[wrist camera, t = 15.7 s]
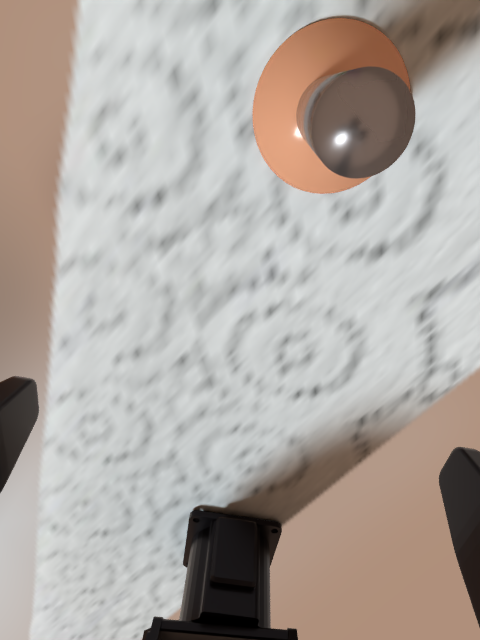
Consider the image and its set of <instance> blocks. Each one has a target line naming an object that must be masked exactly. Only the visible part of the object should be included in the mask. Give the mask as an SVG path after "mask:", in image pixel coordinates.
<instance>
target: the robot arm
mask: <svg viewBox="0 0 480 640" xmlns="http://www.w3.org/2000/svg"><path fill="white" fill-rule="evenodd" d="M38 413H39V405H38V395H37V385H36V382H35V380H33V379H30V378H25V377H19V376H14V377H11V378H8V379H6V380H4V381H2V382H0V493H1V491H2V489H3V488H4V486H5V484H6V482H7V480H8V478H9V476H10V474H11V472H12V470H13V468H14V466H15V464H16V462H17V459H18V457H19V455H20V453H21V451H22V449H23V447H24V445H25V443H26V441H27V439H28V437H29V435H30V433H31V431H32V429H33V427H34V425H35V422H36V420H37V417H38ZM439 485H440V489H441V494H442V498H443V502H444V507H445V511H446V515H447V520H448V524H449V529H450V533H451V538H452V542H453V546H454V550H455V553H456V557H457V560H458V563H459V567H460V570H461V573H462V576H463V579H464V582H465V585H466V588H467V591H468V594H469V597H470V600H471V603H472V606H473V609H474V612H475V615H476V618H477V620H478V624H479V627H480V452H479V451H477V450H475V449H469V448H463V447H457V448H455V449H454V450H453V451H452V453H451V454H450V456H449V458H448V460H447V461H446V463H445V465H444V466H443V468H442V470H441V472H440V475H439ZM281 532H282V529H281V524H280V523H279V522H276V521H269V520H262V519H255V518H247V517H240V516H233V515H226V514H219V513H211V512H204V511H192V512H191V513H190V517H189V524H188V531H187V539H186V546H185V553H184V560H183V565H184V566H185V567H188V568H187V574H186V581H185V587H184V593H183V600H182V606H181V612H180V619H179V620H167V619H163V617H154V618H153V622H152V626H151V628H149V629H147V630H145V631H144V634H143V639H142V640H298V637H297V630H296V629H291V628H288V629H287V630H282V629H271V628H270V565H271V562H272V559H273V556H274V553H275V550H276V547H277V544H278V541H279V538H280V535H281Z"/></svg>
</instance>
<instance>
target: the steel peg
mask: <svg viewBox="0 0 480 640" xmlns="http://www.w3.org/2000/svg"><path fill="white" fill-rule="evenodd" d="M296 121H297V126H298V130H299V132H300V134H301V136H302V137H303V139H304V140H305V141H306V142H307V144H308V145H309V146H310V147H311V149H312V150H313V151H314V153H315V154H316V155H317V156H318V158H319V159H320V160H321V161H322V163H323V164H324V165H325V166H326V167H327V168H328V169H329V170H331V171H332V172H334V173H336V174H338V175H340V176H343V177H346V178H356V179H358V178H366V177H370V176H373V175H376V174H378V173H380V172H382V171H384V170H385V169H387V168H388V167H389V166H391V165H392V164H393V163H394V162H395V161H396V160H397V159H398V158H399V157H400V155H401V154H402V153H403V152H404V150H405V148H406V147H407V145H408V143H409V141H410V138H411V136H412V133H413V129H414V124H415V105H414V100H413V97H412V94H411V92H410V90H409V88H408V86H407V85H406V83H405V82H404V81H403V80H402V79H401V78H400V77H399V76H398V75H396V74H395V73H393V72H392V71H390V70H387V69H384V68H381V67H373V66H368V67H361V68H356V69H352V70H348V71H343V72H339V73H335V74H331V75H327V76H323V77H321V78H318V79H317V80H315V81H314V82H313V83H311V84H310V85H309V86H308V87H307V88H306V90H305V91H304V92H303V94H302V96H301V98H300V100H299V103H298V106H297V112H296Z"/></svg>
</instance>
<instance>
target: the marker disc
mask: <svg viewBox="0 0 480 640" xmlns="http://www.w3.org/2000/svg"><path fill="white" fill-rule="evenodd" d="M368 66H373V67H381V68H384V69H387V70H390V71H392V72H393V73H395V74H396V75H398V76H399V77H400V78H401V79H402V80H403V81H404V82H405V83H406V85H407V86H408V88H409V90H410V83H409V78H408V73H407V69H406V67H405V64H404V61H403V59H402V57H401V55H400V54H399V52H398V50H397V48H396V47H395V46H394V45H393V43H392V42H391V41H390V40H389V39H388V38H387V37H386V36H385V35H384V34H383V33H382V32H380V31H379V30H377V29H376V28H374V27H373V26H371V25H368V24H366V23H364V22H361V21H357V20H354V19H346V18H335V19H327V20H322V21H318V22H316V23H313V24H310V25H308V26H306V27H304V28H302V29H301V30H299V31H297V32H296V33H294V34H293V35H292V36H291V37H289V38H288V39H287V40H286V41H285V42H284V43H283V44H282V45H281V46H280V47H279V48H278V49H277V50H276V51H275V53H274V54H273V55H272V57H271V58H270V60H269V61H268V63H267V65H266V66H265V68H264V70H263V72H262V75H261V77H260V79H259V82H258V85H257V88H256V92H255V97H254V103H253V127H254V134H255V138H256V141H257V145H258V147H259V150H260V152H261V154H262V156H263V158H264V160H265V161H266V163H267V164H268V166H269V167H270V168H271V170H272V171H273V172H274V173H275V174H276V175H277V176H278V177H279V178H281V179H282V180H283V181H285V182H286V183H288V184H289V185H291V186H293V187H295V188H298V189H300V190H303V191H307V192H311V193H320V194H323V193H335V192H340V191H343V190H347V189H350V188H352V187H354V186H357V185H359V184H360V183H362V182H364V181H365V180H367V179H368V178H370V177H371V176H370V177H366V178H358V179H356V178H346V177H343V176H340V175H338V174H336V173H334V172H332V171H331V170H329V169H328V168H327V167H326V166H325V165H324V164H323V163H322V161H321V160H320V159H319V158H318V156H317V155H316V154H315V153H314V151H313V150H312V149H311V147H310V146H309V145H308V144H307V142H306V141H305V140H304V139H303V137H302V136H301V134H300V132H299V130H298V126H297V121H296V112H297V106H298V103H299V100H300V98H301V96H302V94H303V92H304V91H305V90H306V88H307V87H308V86H309V85H310V84H311V83H313V82H314V81H315V80H317V79H318V78H321V77H323V76H327V75H331V74H335V73H339V72H343V71H348V70H352V69H356V68H361V67H368Z"/></svg>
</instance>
